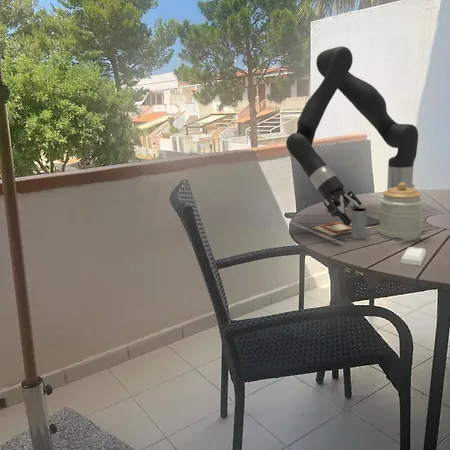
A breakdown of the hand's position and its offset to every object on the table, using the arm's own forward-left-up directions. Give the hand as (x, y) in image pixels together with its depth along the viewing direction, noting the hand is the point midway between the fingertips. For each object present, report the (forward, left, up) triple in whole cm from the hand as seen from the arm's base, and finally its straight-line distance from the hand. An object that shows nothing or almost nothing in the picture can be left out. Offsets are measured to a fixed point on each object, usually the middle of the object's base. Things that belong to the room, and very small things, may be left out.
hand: (356, 221), depth 138 cm
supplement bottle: (-16, -32, -6) cm, 37 cm away
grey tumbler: (0, +1, -6) cm, 7 cm away
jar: (-14, +4, -7) cm, 16 cm away
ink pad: (-13, -11, -5) cm, 18 cm away
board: (-7, -11, -6) cm, 15 cm away
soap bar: (-2, +22, -7) cm, 23 cm away
